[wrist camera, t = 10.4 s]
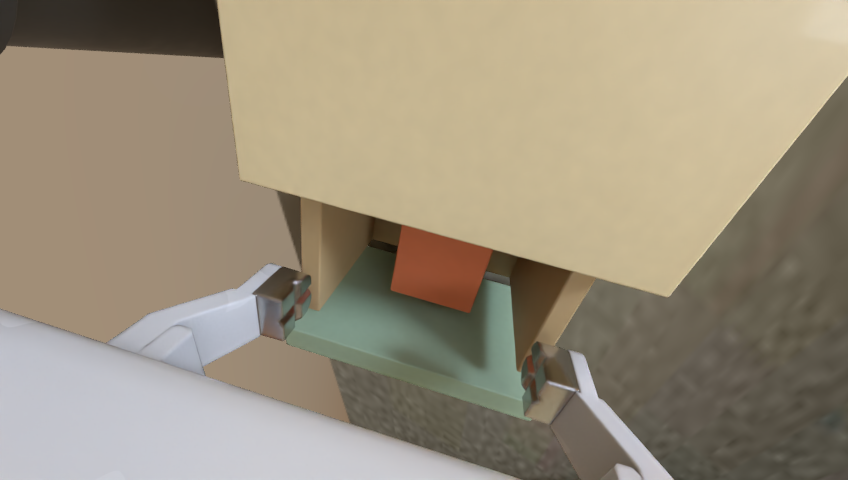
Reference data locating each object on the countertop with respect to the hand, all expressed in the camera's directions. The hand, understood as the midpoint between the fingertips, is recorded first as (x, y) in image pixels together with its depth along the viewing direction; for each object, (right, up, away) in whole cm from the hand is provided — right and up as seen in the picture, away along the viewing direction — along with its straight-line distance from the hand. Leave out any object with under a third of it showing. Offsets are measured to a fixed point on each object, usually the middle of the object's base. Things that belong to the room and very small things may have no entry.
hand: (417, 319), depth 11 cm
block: (+2, +3, +6) cm, 7 cm away
